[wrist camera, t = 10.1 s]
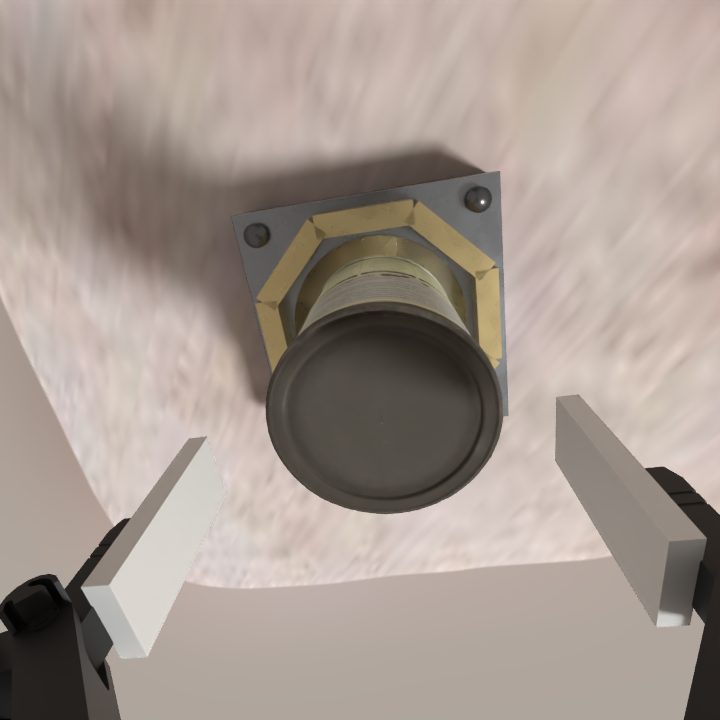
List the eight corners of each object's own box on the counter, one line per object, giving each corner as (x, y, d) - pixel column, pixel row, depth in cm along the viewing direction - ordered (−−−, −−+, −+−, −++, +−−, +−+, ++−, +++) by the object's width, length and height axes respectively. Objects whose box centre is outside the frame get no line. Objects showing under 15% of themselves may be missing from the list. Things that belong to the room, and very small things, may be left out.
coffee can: (473, 355, 32) (536, 471, 19) (350, 406, 35) (332, 542, 21) (419, 225, 29) (451, 260, 16) (286, 290, 31) (219, 368, 18)
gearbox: (247, 212, 33) (221, 218, 28) (486, 172, 32) (507, 170, 26) (296, 416, 40) (283, 452, 35) (496, 392, 38) (514, 427, 33)
